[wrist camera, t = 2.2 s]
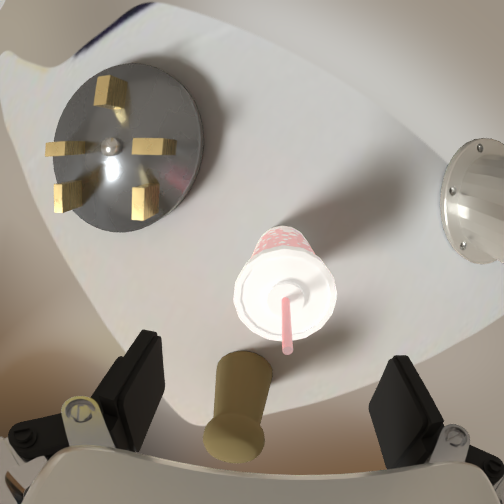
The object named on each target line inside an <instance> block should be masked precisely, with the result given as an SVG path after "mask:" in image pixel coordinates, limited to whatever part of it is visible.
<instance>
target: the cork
mask: <svg viewBox="0 0 504 504" xmlns="http://www.w3.org/2000/svg"><path fill="white" fill-rule="evenodd" d="M271 380H272V368H271V366H270V364H269V362H268V361H267V360H266V359H264V358H263V357H262V356H260V355H258V354H256V353H252V352H248V351H236V352H232V353H229V354H227V355H226V356H224V357H222V359H221V360H220V361H219V362H218V366H217V371H216V386H215V401H214V417H213V419H212V420H211V421H210V422H209V423H208V424H207V426H206V427H205V431H204V435H203V443H204V446H205V448H206V450H207V451H208V452H209V454H210V455H212V456H214V457H215V458H217V459H219V460H222V461H224V462H229V463H244V462H248V461H252V460H253V459H255V458H256V457H257V456H258V455H259V454H260V453H261V451H262V449H263V447H264V442H265V439H264V432H263V429H262V428H261V426H260V423H261V419H262V415H263V411H264V407H265V404H266V400H267V396H268V392H269V388H270V384H271Z"/></svg>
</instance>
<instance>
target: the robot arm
mask: <svg viewBox="0 0 504 504" xmlns="http://www.w3.org/2000/svg"><path fill="white" fill-rule="evenodd" d="M449 189H450V190H449ZM440 208H441V219H442V223H443V228H444V231H445V234H446V236H447V239H448V241H449V242H450V244H451V246H452V247H453V248H454V250H455V251H456V252H457V253H458V254H459V255H461V256H462V257H464V258H465V259H466V260H468V261H470V262H473V263H476V264H489V263H491V262H494V261H497V260H498V261H500V262H502V263H503V264H504V144H502V143H501V142H499V141H497V140H493V139H485V138H481V139H474V140H472V141H470V142H467V143H466V144H465V145H463V146H462V147H461V148H460V149H459V150H458V151H457V152H456V153H455V155H454V156H453V157H452V159H451V161H450V163H449V165H448V167H447V170H446V172H445V175H444V178H443V183H442V188H441V199H440ZM164 390H165V379H164V368H163V355H162V341H161V337H160V336H157V333H156V332H153V331H148V330H142V331H141V332H140V334H139V335H138V336H137V338H136V339H135V341H134V342H133V344H132V345H131V347H130V348H129V350H128V351H127V353H126V354H125V356H124V357H122V356H120V357H118V358H117V359H116V361H115V362H114V364H113V365H112V367H111V368H110V369H109V371H108V372H107V374H106V375H105V377H104V378H103V380H102V381H101V383H100V384H99V386H98V387H97V389H96V390H95V392H94V393H93V395H92V396H91V398H89V397H85V396H75V397H72V398H70V399H69V400H67V401H66V402H65V403H64V404H63V406H62V409H61V412H62V413H60V414H56V415H52V416H47V417H43V418H38V419H33V420H29V421H24V422H20V423H17V424H15V425H14V426H12V428H11V429H10V431H9V434H8V437H7V438H5V439H3V437H0V504H504V464H503V462H502V461H501V460H500V459H499V458H498V457H496V456H494V455H491V454H489V453H487V452H485V451H483V450H480V449H478V448H476V447H473V446H471V445H469V444H470V436H469V434H468V432H467V431H466V430H465V429H464V428H463V427H461V426H459V425H456V424H449V425H447V426H444V424H443V422H444V420H443V418H442V416H441V414H440V412H439V410H438V408H437V407H436V405H435V403H434V401H433V399H432V397H431V396H430V394H429V392H428V390H427V389H426V387H425V385H424V383H423V381H422V379H421V378H420V376H419V374H418V373H417V371H416V369H415V367H414V366H413V364H412V362H411V361H410V359H409V357H408V356H406V355H396V356H394V357H393V358H392V359H390V360H389V361H388V363H387V366H386V368H385V370H384V373H383V375H382V377H381V380H380V382H379V384H378V386H377V388H376V391H375V393H374V395H373V397H372V399H371V401H370V403H369V412H370V416H371V419H372V422H373V425H374V428H375V432H376V435H377V438H378V442H379V445H380V448H381V452H382V455H383V459H384V462H385V465H386V468H387V470H380V471H371V472H362V473H351V474H333V475H276V474H258V473H246V472H237V471H229V470H221V469H214V468H208V467H201V466H195V465H190V464H185V463H179V462H175V461H170V460H165V459H161V458H156V457H153V456H149V455H144V454H140V453H136V452H139V450H140V448H141V446H142V444H143V441H144V439H145V436H146V434H147V431H148V429H149V426H150V424H151V422H152V419H153V417H154V414H155V412H156V410H157V407H158V405H159V402H160V400H161V398H162V395H163V393H164ZM135 451H136V452H135ZM30 485H31V487H30V488H29V490H28V492H27V494H26V496H25V497H24V498H23V493H24V491H25V489H26V488H27V487H29V486H30Z"/></svg>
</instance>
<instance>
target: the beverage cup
mask: <svg viewBox="0 0 504 504" xmlns="http://www.w3.org/2000/svg"><path fill="white" fill-rule="evenodd" d="M336 299H337V292H336V286H335V281H334V277H333V275H332V274H331V272H330V271H329V269H328V268H327V266H326V265H325V264H324V262H323V261H322V259H321V258H320V257H318V256H316V254H315V253H314V251H313V250H312V248H311V246H310V245H309V243H308V241H307V240H306V238H305V237H304V236H303V234H302V233H301V232H299V231H298V230H296V229H294V228H293V227H288V226H278V227H274V228H271V229H269V230H268V231H267V232H265V233H264V234H263V235H262V236H261V238H260V240H259V241H258V243H257V245H256V247H255V250H254V252H253V254H252V256H251V258H250V260H248V261H247V262H246V264H245V266H244V267H243V269H242V271H241V272H240V274H239V276H238V277H237V280H236V282H235V289H234V299H233V302H234V305H235V307H236V310H237V313H238V316H239V318H240V319H241V321H242V322H243V323H244V324H245V325H246V326H247V327H248V328H249V329H250V330H251V331H252V332H254V333H256V334H258V335H260V336H262V337H264V338H266V339H268V340H275V341H282V352H283V353H284V354H285V355H290V354H292V352H293V340H298V339H303V338H306V337H308V336H309V335H311V334H313V333H314V332H316V331H318V330H319V329H321V328H322V327H323V325H324V324H325V323H326V322H327V320H328V319H329V318H330V316H331V315H332V314H333V310H334V307H335V303H336Z"/></svg>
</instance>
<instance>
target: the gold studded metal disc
mask: <svg viewBox="0 0 504 504" xmlns="http://www.w3.org/2000/svg"><path fill="white" fill-rule="evenodd" d="M203 142H204V136H203V126H202V121H201V117H200V114H199V111H198V108H197V106H196V104H195V102H194V100H193V98H192V97H191V95H190V94H189V93H188V91H187V90H186V89H185V87H183V86H182V85H181V84H180V83H179V82H178V81H177V80H176V79H174V78H173V77H171V76H170V75H168V74H167V73H165V72H164V71H162V70H160V69H157V68H155V67H152V66H149V65H145V64H136V63H133V64H122V65H117V66H114V67H111V68H108V69H105V70H103V71H102V72H100V73H98V74H96V75H95V76H93V77H92V78H90V79H89V80H88V81H86V82H85V83H84V84H83V85H82V86H81V87H80V88H79V89H78V90H77V91H76V92H75V94H74V95H73V96H72V98H71V99H70V100H69V102H68V103H67V105H66V107H65V109H64V110H63V113H62V115H61V117H60V120H59V122H58V126H57V129H56V133H55V138H54V142H49V143H46V151H45V157H48V156H53V164H54V171H55V176H56V180H57V183H58V184H54V211H55V212H58V213H64V212H67V211H69V210H73V211H74V212H75V213H76V214H77V215H78V216H79V217H80V218H81V219H83V220H84V221H85V222H87V223H88V224H90V225H92V226H94V227H96V228H99V229H102V230H105V231H110V232H130V231H135V230H139V229H142V228H144V227H146V226H149V225H151V224H153V223H154V222H156V221H158V220H159V219H161V218H163V217H164V216H166V215H167V214H168V213H170V212H171V211H172V210H174V209H175V208H176V206H177V205H178V204H179V203H180V202H181V201H182V200H183V199H184V197H185V196H186V195H187V193H188V192H189V190H190V188H191V186H192V185H193V183H194V181H195V178H196V176H197V174H198V171H199V167H200V164H201V160H202V154H203Z"/></svg>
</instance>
